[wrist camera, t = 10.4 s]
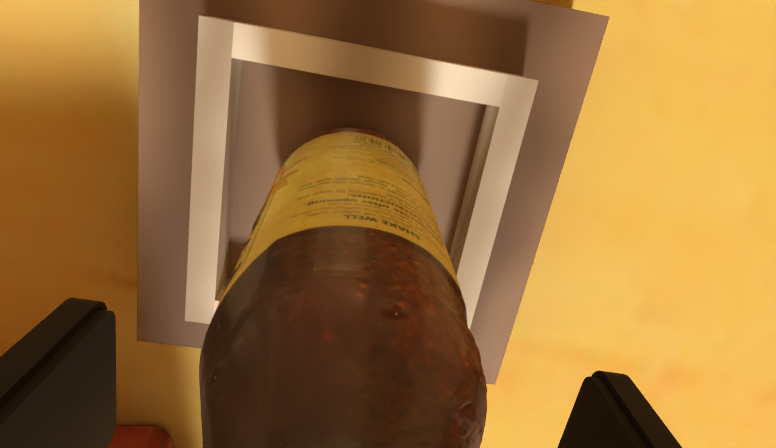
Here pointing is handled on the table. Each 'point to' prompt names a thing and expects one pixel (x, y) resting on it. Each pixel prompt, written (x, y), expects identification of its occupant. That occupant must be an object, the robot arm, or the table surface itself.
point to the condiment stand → (352, 110)
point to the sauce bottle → (343, 314)
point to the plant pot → (140, 437)
